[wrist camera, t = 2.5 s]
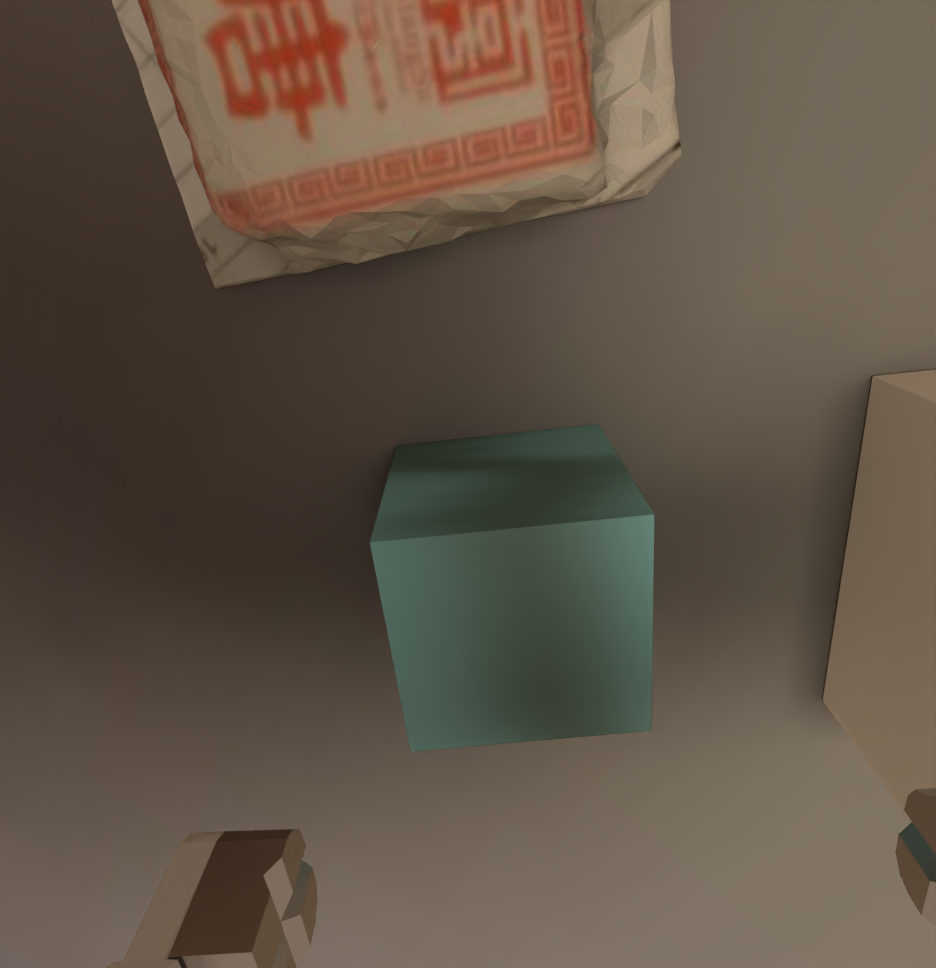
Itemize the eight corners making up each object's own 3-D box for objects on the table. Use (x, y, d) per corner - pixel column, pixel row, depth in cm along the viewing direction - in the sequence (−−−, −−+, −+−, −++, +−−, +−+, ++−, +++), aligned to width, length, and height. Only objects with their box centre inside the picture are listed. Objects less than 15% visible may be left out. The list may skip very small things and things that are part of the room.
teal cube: (423, 610, 18) (410, 751, 13) (396, 444, 16) (369, 542, 11) (602, 593, 18) (651, 731, 13) (597, 423, 16) (654, 513, 11)
